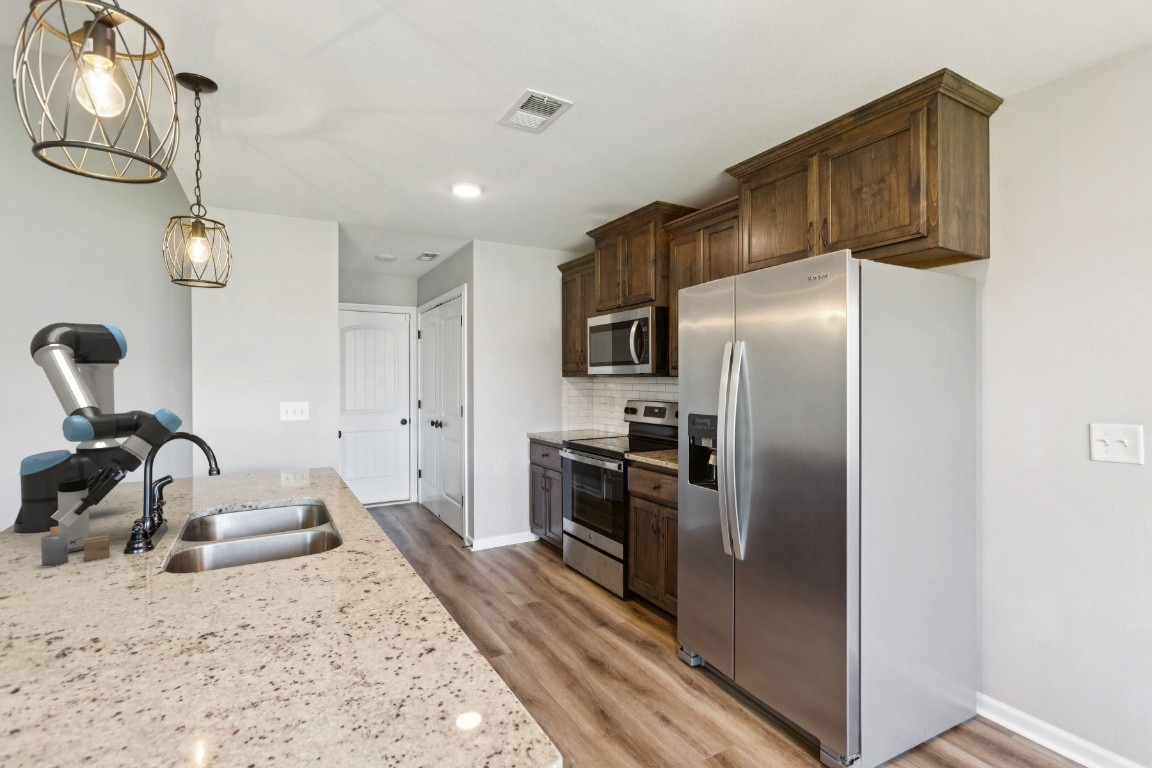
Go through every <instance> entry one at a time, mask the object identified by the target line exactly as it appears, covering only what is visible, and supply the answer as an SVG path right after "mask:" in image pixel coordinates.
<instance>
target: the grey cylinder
mask: <svg viewBox="0 0 1152 768" xmlns="http://www.w3.org/2000/svg"><path fill="white" fill-rule="evenodd" d="M40 541H41V542H40V545H41V549H40V550H41V567H42V566H53V567H57V566H56V565H59V566H62V565H61V564H63V565H65V564H64V563H66V564H67V562H68V563H69V552H68V534H55V535H50V534H49V535H45V536H42V537H41V538H40Z"/></svg>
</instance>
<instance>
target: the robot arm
mask: <svg viewBox="0 0 1152 768" xmlns="http://www.w3.org/2000/svg"><path fill="white" fill-rule="evenodd" d="M29 350H30V355H31V358H32V360H33V362H34V364H36V365H37V366H38V367H40V368H42V370H43V372H44V374H45V377H46V378H47V380H48V381H49V383H50V386H51V387H52V390H53V391H54V393H55V396H56V397H57V399H58V401H59V403H60V405H61V407H62V409H63V410H64V413H65V414H66V417H65V418H64V419H63V422H62V426H61V427H62V428H61V430H62V433H63V434H62V435H63V437H64V439H65V440H66V441H68V442H71V443H79V444H77V446H75V453H71V451H70V450H69V449H59V450H50V451H49V450H48V451H44V452H39V453H35V454H31V455H29V456H28V455H27V456H26V457H24V458H23V459H22V460H21V461H20V468H19V469H20V470H19V476H20V497H21V498H20V499H21V500H20V501H21V504H20V508H19V509H18V512H17V516H16V518H15V519H14V523H13V531H14V532H16V533H20V534H21V533H24V534H25V533H39V532H47V531H50V527H56V526H58V482H59V481H64V480H65V479H70V478H76V477H88V495H87V496H86V498H81V499H80V500H81V501H80V502H79V503H77V504H76V505H75V506H74V507H73V508H72V509H71V510H70V511H69V512H68V513H67V514H66V515H65V516H64V517H63V518H62V519H60V520H59V522H61V523H63V524H65V525H66V526H68V527H70V526H71V525H72V524H73V523H74V522H75V521H76V520H77V519H78V518H79V517H80V516H81V515H82V514H83V513H84V512H85V511H86V510H88V509H89V510H90V508H91V507H93V506H97V505H99V504H100V502H101V501H102V500H103V499H104V498H106V496H107V495H108V494H109V493H111V491H112V490H114V488H115V487H116V486H117V485H119V483H120V482H121V481H123V480H124V479H125V478H126V476H127V474H128V472H129V473H133V472H136V470H137V469H139V467H140V466H141V465H142V464H143V461H147V459H148V458H147V456H148V453H149V451H150V450H151V448H152V447H153V446H154V445H155V444H156V443H157V442H158V441H160V440H161V439H162V438H164V437H165V438H164V439H163V440H162V441H164V443H165V442H167V440H169V438H171V436H172V434H173V435H174V434H176V432H177V431H178V429H179V428H180V427H181V426H182V425H183V420H182V419H181V418H180V416H178V415H177V414H175V412H173V411H171V410H169V409H167V408H160V409H159V410H157V411H156V412H155V413H154V414H153V413H149V412H146V411H143V410H136V409H135V410H134V409H133V410H128V411H127V412H118V413H115V375H114V373H115V371H114V370H115V369H116V368H117V367H118V366H120V361H121V360H123V359H124V358H126V356H127V353H128V343H127V339H126V336H125V334H124V332H122V330H121V329H120V328H119V327H117V326H114V325H109V324H102V323H101V324H95V323H94V324H93V323H77V322H75V323H74V322H55V323H51V324H48V325H46V326H44V327H42V328H41V329H39V330H38V331H37V332H36V333H35V334H34V336H33V337H32V340H31V341H30V346H29ZM168 435H170V436H168ZM166 436H168V437H166ZM124 438H127V439H126V440H124V441H123V442H122V443H121V442H119V441H117V440H116V439H124ZM162 441H160V442H162ZM160 442H159V443H160ZM159 443H158V444H159ZM164 443H163V442H162V445H163V444H164ZM146 458H147V459H146ZM82 501H83V502H82Z"/></svg>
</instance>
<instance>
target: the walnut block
mask: <svg viewBox="0 0 1152 768" xmlns="http://www.w3.org/2000/svg"><path fill="white" fill-rule="evenodd" d="M83 551H84V554H83V555H84V563H87V562H86V561H88V562H93V561H92V560H94V561H99V560H98V559H100V560H105V559H104V558H106V559H110V558H109V557H111V556H110V554H111V552H110V535H109V534H108V535H100V536H95V537H89V538H87V539H84V549H83Z"/></svg>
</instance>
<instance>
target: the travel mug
mask: <svg viewBox="0 0 1152 768" xmlns="http://www.w3.org/2000/svg"><path fill="white" fill-rule="evenodd" d="M87 495H88V477H76V478H70V479H65V480H64V481H59V482H58V526H59V534H68V553H74V552H73V551H76V552H79V551H78V550H80V551H83V550H84V539H87V538H90V524H89V523H90V520H89V519H90V517H89V516H90V514H89V513H90V512H89V510H90V508H89V509H88V510H86V511H85V512H84V513H83V514H82V515H81V516H80V517H79V518H78V519H77V520H76V521H75V522H74V523H73V524H72V525H71V526H70V527H68V526H66V525H65V524H63V523H61V522H59V520H60V519H62V518H63V517H64V516H65V515H66V514H67V513H68V512H69V511H70V510H71V509H72V508H73V507H74V506H75V505H76V504H77V503H79V502H80V501H81V500H80V499H81V498H86V496H87ZM82 502H83V501H82ZM82 549H83V550H82Z"/></svg>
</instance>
